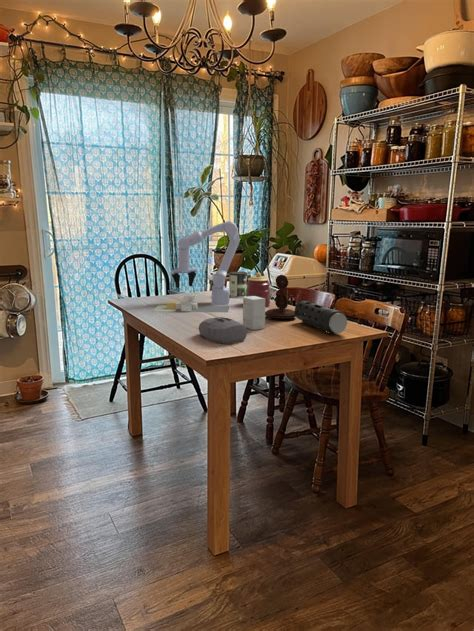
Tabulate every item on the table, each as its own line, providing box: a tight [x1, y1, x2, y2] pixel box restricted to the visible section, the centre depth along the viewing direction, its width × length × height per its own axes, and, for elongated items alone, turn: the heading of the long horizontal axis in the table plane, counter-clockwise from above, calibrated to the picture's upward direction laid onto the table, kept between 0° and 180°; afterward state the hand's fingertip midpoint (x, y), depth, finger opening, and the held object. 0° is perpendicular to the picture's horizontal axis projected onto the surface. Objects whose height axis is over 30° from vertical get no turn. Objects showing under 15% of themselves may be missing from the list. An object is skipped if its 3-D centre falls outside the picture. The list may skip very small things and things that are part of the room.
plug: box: [164, 301, 198, 310], centre depth 244 cm, size 16×3×3 cm, turn 86°
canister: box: [246, 272, 271, 308], centre depth 256 cm, size 13×13×18 cm
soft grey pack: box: [198, 316, 248, 345], centre depth 190 cm, size 15×8×20 cm
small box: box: [242, 296, 266, 331], centre depth 207 cm, size 8×6×13 cm
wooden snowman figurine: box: [265, 274, 297, 321], centre depth 226 cm, size 15×15×20 cm
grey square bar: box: [180, 295, 196, 313], centre depth 245 cm, size 5×15×5 cm, turn 179°
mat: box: [152, 304, 230, 313], centre depth 245 cm, size 37×16×1 cm, turn 89°
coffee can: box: [229, 271, 248, 299], centre depth 283 cm, size 10×10×14 cm
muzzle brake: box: [294, 300, 348, 335], centre depth 206 cm, size 10×28×10 cm, turn 23°
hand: (184, 286), depth 256 cm, fingers open, 7 cm apart
